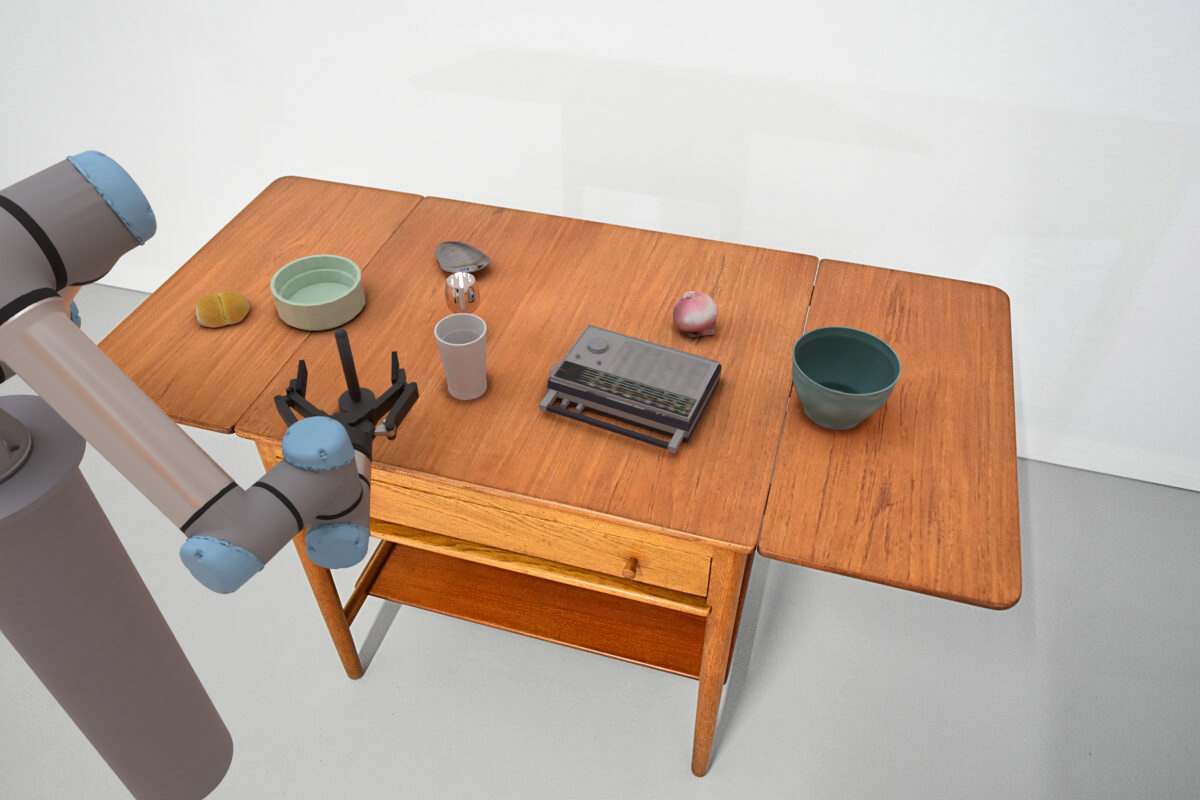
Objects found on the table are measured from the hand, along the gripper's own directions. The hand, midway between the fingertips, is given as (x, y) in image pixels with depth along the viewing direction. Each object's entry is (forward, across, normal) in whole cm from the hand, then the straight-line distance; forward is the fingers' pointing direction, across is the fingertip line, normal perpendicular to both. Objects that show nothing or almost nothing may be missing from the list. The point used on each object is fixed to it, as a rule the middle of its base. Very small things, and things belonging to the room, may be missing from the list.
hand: (349, 362), depth 136 cm
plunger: (-1, 0, -9) cm, 10 cm away
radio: (-4, +42, -10) cm, 44 cm away
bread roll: (+28, -25, -10) cm, 38 cm away
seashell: (+36, +17, -10) cm, 41 cm away
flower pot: (-12, +74, -10) cm, 76 cm away
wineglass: (+15, +18, -10) cm, 25 cm away
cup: (+2, +17, -10) cm, 20 cm away
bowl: (+28, -8, -9) cm, 30 cm away
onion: (+12, +57, -10) cm, 59 cm away
